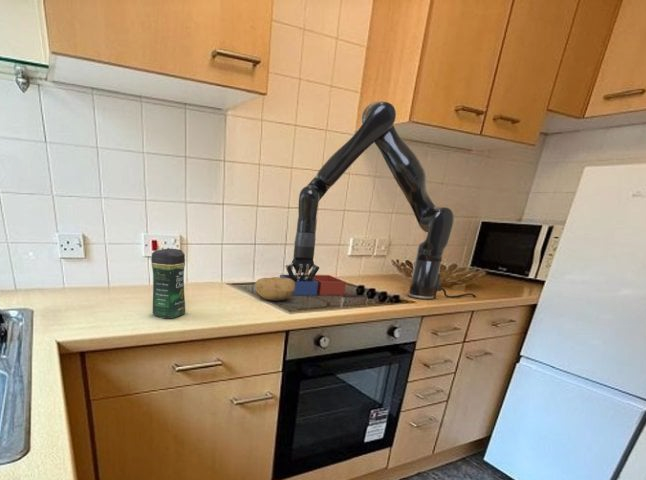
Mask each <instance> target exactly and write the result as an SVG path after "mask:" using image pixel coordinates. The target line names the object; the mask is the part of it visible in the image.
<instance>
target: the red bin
mask: <svg viewBox="0 0 646 480" xmlns="http://www.w3.org/2000/svg"><path fill="white" fill-rule="evenodd" d="M313 280H315V281H317V282H318V288H317V295H319V296H345V292H346V286H347V282H346V281H344V280H342V279H340V278H337V277H336V276H332V275H330V274H315V276H314V278H313Z"/></svg>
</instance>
